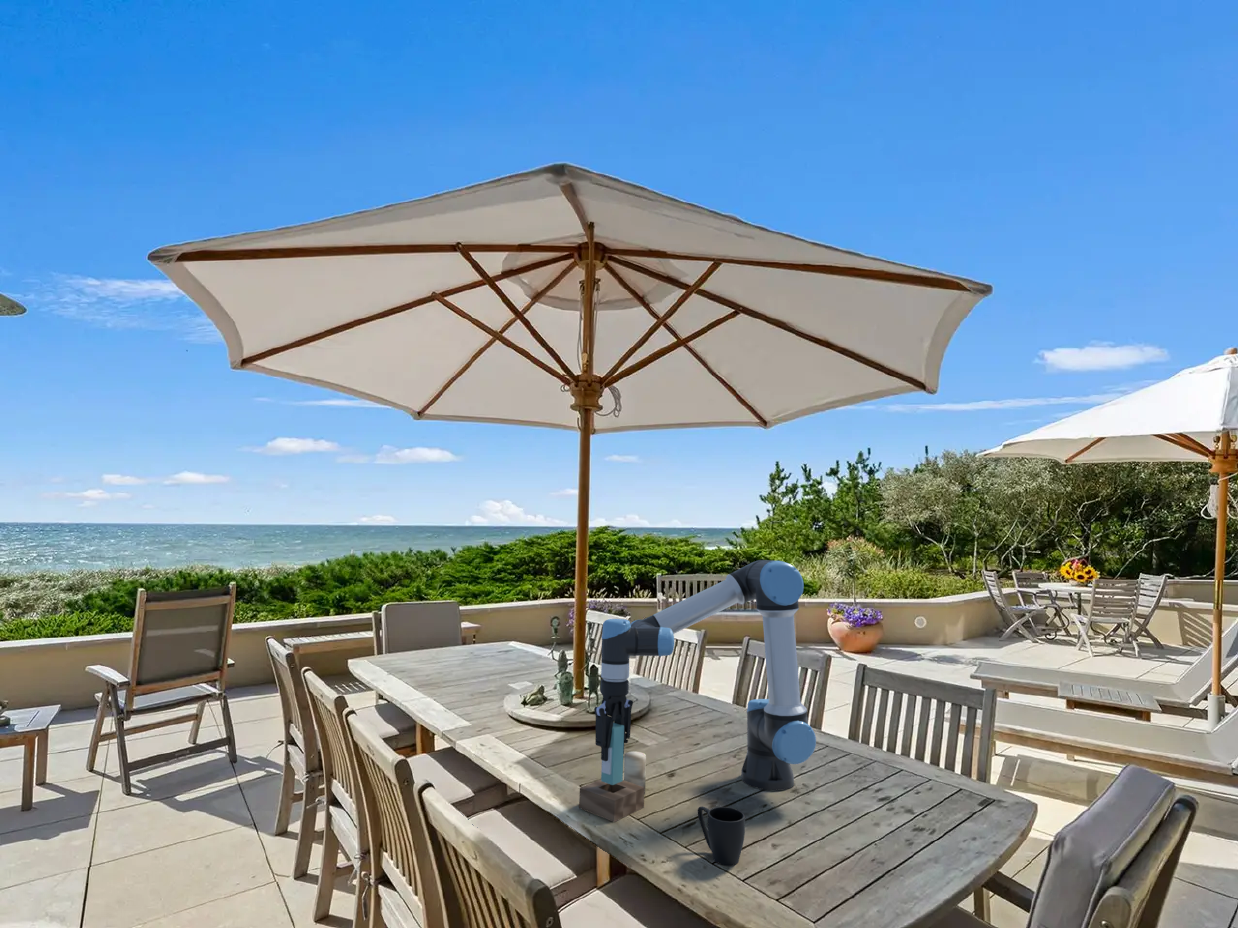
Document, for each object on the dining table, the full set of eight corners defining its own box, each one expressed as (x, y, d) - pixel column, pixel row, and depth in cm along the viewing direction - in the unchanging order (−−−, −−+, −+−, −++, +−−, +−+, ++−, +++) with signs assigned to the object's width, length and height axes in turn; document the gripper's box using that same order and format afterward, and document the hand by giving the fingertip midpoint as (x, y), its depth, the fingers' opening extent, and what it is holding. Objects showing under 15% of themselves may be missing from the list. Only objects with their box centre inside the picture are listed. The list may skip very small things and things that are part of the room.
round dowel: (632, 786, 181) (633, 749, 182) (649, 792, 177) (650, 754, 178) (619, 792, 176) (620, 754, 177) (636, 798, 172) (636, 760, 174)
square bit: (611, 776, 170) (612, 722, 172) (622, 780, 167) (624, 725, 169) (601, 780, 167) (602, 725, 169) (612, 785, 164) (614, 728, 166)
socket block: (609, 794, 175) (609, 775, 175) (643, 807, 167) (644, 787, 168) (579, 807, 166) (579, 787, 166) (614, 821, 158) (614, 800, 158)
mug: (711, 840, 149) (712, 797, 150) (752, 861, 140) (752, 815, 141) (687, 850, 144) (687, 806, 145) (727, 872, 135) (728, 825, 136)
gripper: (624, 672, 179) (622, 759, 176) (582, 681, 166) (579, 775, 163) (645, 676, 174) (643, 765, 171) (604, 685, 161) (601, 783, 158)
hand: (612, 770), depth 167 cm, fingers closed on square bit, 4 cm apart
